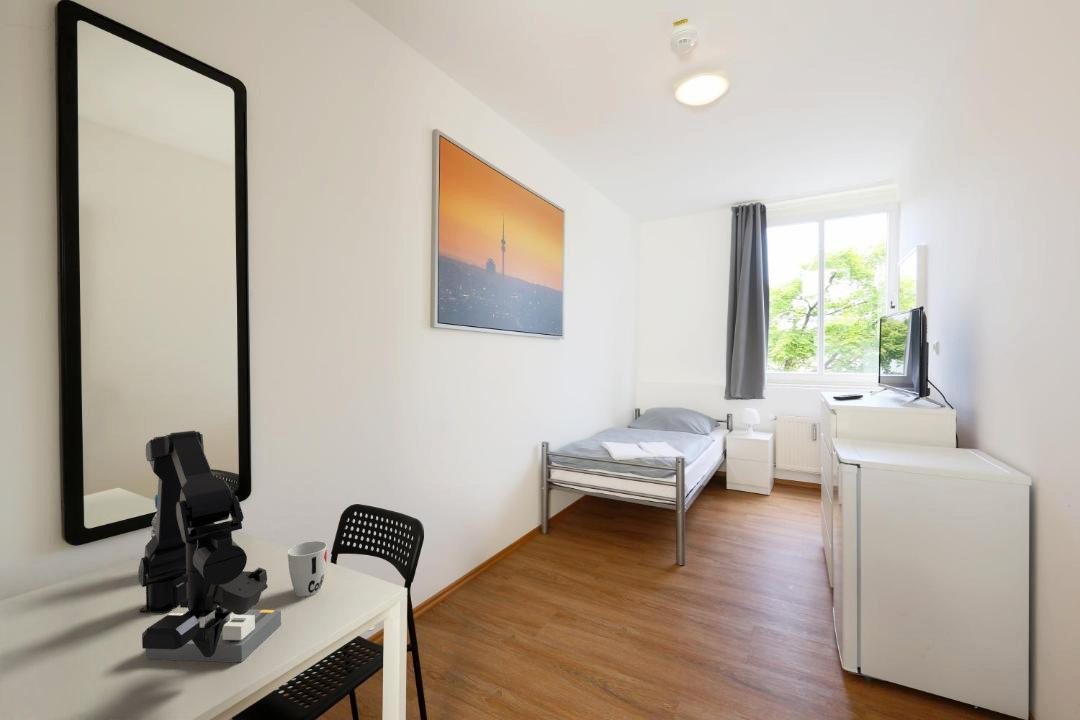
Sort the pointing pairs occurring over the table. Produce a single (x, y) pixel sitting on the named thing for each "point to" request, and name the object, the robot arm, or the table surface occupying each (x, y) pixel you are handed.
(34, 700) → the table surface
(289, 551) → the cup
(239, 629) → the switch far
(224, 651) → the console
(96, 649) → the table surface
